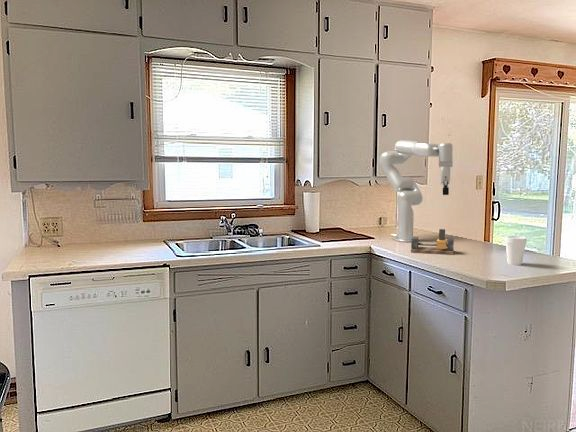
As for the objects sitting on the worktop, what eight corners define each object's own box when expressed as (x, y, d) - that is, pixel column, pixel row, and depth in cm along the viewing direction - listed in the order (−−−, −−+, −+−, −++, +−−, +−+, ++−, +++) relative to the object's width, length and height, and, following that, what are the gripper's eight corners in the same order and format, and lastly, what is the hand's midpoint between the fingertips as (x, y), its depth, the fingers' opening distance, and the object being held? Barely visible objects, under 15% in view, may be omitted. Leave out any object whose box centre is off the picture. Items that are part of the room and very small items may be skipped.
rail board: (410, 252, 264) (411, 239, 263) (413, 248, 275) (413, 235, 274) (452, 254, 256) (453, 240, 255) (453, 250, 267) (453, 237, 266)
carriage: (436, 248, 261) (437, 230, 260) (437, 246, 267) (437, 228, 266) (446, 249, 259) (446, 230, 258) (446, 246, 265) (447, 228, 264)
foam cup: (500, 262, 236) (501, 236, 234) (518, 261, 236) (519, 235, 235) (510, 266, 226) (511, 239, 225) (529, 265, 227) (530, 238, 226)
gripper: (439, 165, 283) (439, 193, 284) (438, 164, 267) (438, 195, 268) (452, 164, 281) (452, 193, 282) (452, 164, 264) (452, 195, 266)
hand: (445, 194), depth 275 cm, fingers open, 9 cm apart
